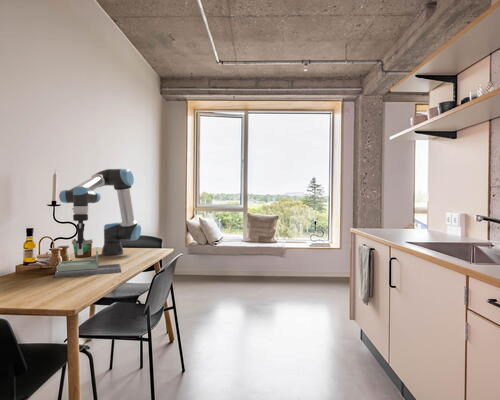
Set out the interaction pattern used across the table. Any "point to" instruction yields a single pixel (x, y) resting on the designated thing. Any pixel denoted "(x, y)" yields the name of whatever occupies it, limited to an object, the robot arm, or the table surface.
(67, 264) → the pale green tray
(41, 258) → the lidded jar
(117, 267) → the grey board
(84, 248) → the food container
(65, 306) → the table surface
